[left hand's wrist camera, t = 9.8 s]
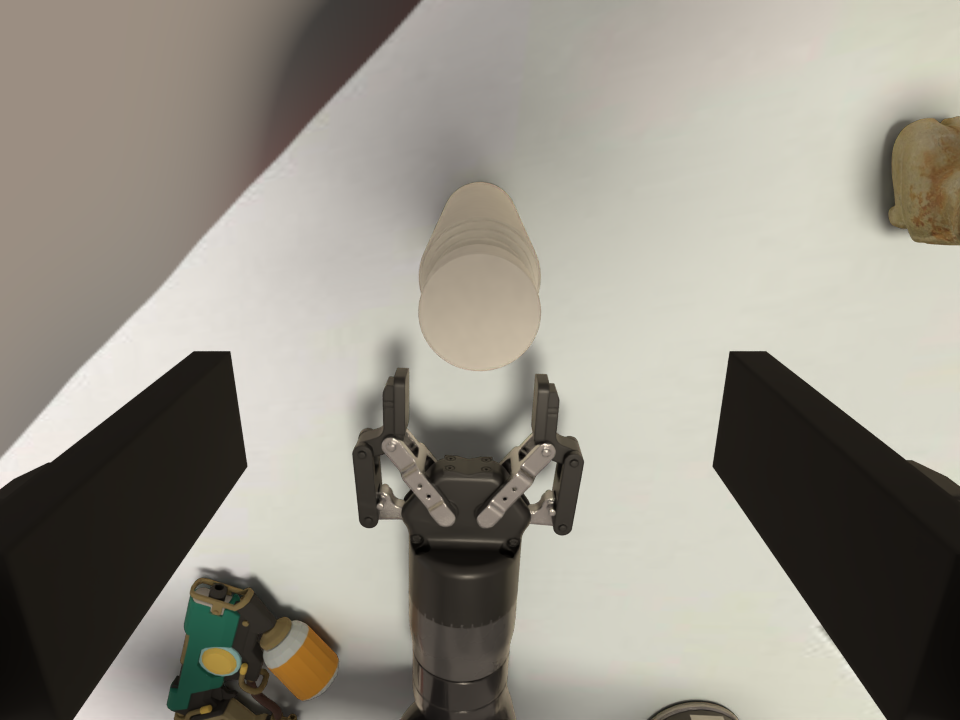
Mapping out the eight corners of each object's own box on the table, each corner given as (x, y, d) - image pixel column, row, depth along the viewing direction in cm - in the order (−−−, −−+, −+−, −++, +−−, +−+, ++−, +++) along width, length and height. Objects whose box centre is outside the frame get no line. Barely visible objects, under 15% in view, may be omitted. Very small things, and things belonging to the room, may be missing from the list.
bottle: (477, 165, 39) (475, 203, 19) (532, 218, 41) (584, 306, 20) (427, 222, 41) (375, 314, 21) (481, 272, 42) (483, 406, 22)
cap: (476, 219, 21) (475, 226, 19) (559, 297, 22) (566, 311, 20) (399, 303, 22) (393, 317, 20) (482, 374, 23) (482, 393, 21)
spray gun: (282, 745, 58) (136, 669, 55) (374, 639, 52) (216, 550, 50) (264, 791, 54) (106, 712, 51) (362, 683, 48) (190, 588, 46)
